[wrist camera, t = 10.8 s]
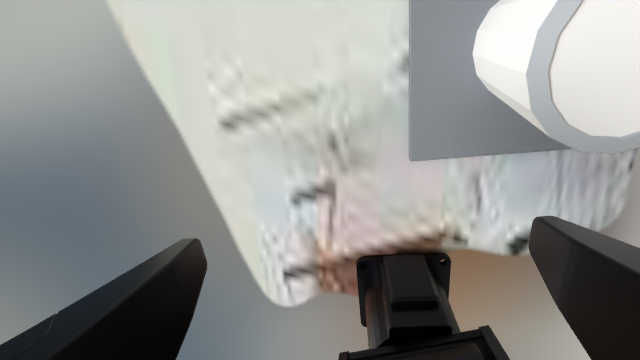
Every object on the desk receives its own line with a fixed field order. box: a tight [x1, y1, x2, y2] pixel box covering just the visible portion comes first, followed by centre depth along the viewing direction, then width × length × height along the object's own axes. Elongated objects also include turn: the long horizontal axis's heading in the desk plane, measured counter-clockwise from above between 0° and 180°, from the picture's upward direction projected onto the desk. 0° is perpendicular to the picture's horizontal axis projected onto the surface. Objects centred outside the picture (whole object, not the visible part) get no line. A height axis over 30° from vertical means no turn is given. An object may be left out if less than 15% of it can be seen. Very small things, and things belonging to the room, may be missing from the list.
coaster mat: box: [409, 0, 573, 161], centre depth 17 cm, size 12×12×1 cm
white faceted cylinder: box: [473, 0, 640, 153], centre depth 14 cm, size 7×7×7 cm
